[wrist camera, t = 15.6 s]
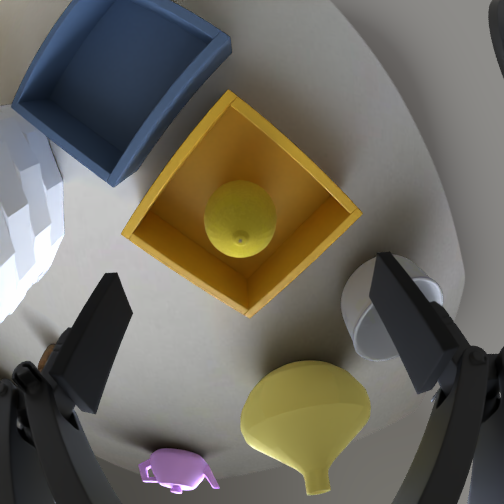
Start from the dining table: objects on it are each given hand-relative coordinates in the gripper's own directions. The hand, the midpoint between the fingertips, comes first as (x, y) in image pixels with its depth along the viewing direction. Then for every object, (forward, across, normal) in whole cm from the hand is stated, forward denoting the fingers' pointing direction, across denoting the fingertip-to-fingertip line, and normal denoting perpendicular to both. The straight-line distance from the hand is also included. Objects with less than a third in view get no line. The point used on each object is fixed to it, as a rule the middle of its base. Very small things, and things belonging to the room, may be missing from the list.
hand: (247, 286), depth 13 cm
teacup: (+14, +16, -12) cm, 24 cm away
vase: (+14, +6, -29) cm, 33 cm away
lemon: (+13, 0, 0) cm, 13 cm away
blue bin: (+14, -10, +13) cm, 21 cm away
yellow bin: (+14, 0, 0) cm, 14 cm away
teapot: (+13, -24, -67) cm, 73 cm away
